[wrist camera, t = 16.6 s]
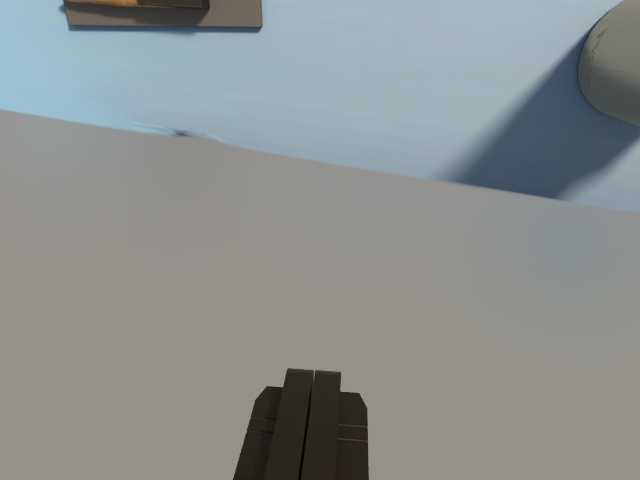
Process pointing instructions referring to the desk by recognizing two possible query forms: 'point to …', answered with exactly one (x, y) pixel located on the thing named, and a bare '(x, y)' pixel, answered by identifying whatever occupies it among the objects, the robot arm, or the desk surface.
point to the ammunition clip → (152, 3)
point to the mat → (168, 14)
